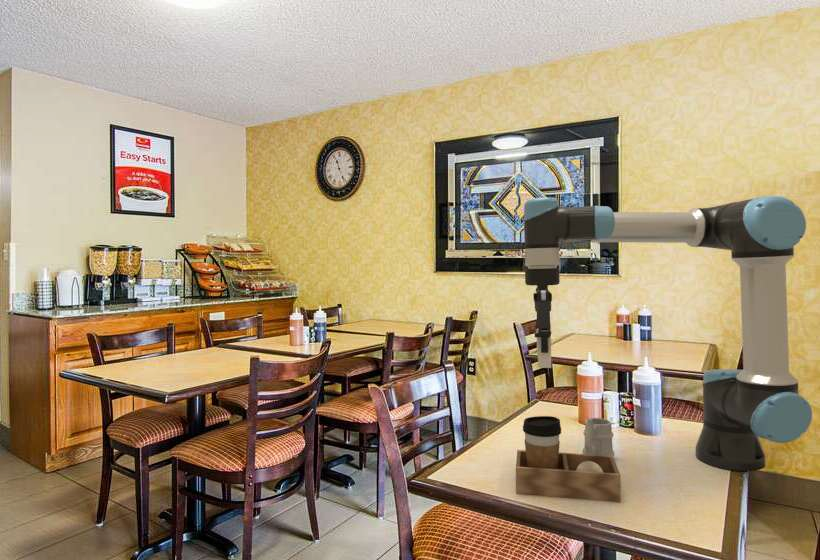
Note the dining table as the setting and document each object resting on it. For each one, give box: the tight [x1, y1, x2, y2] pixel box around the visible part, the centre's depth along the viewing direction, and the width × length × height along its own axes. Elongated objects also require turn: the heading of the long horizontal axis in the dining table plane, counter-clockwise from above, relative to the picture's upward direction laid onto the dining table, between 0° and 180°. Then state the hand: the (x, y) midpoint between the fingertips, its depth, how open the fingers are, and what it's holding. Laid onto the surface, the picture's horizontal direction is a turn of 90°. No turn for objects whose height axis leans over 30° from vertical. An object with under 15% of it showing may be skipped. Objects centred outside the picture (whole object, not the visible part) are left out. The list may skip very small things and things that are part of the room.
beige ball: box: [576, 461, 603, 473], centre depth 115 cm, size 6×6×6 cm
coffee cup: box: [522, 415, 562, 469], centre depth 118 cm, size 8×8×15 cm
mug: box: [582, 417, 615, 458], centre depth 133 cm, size 8×12×12 cm, turn 142°
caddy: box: [515, 449, 622, 503], centre depth 116 cm, size 21×11×6 cm, turn 77°
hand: (543, 361), depth 118 cm, fingers open, 13 cm apart
